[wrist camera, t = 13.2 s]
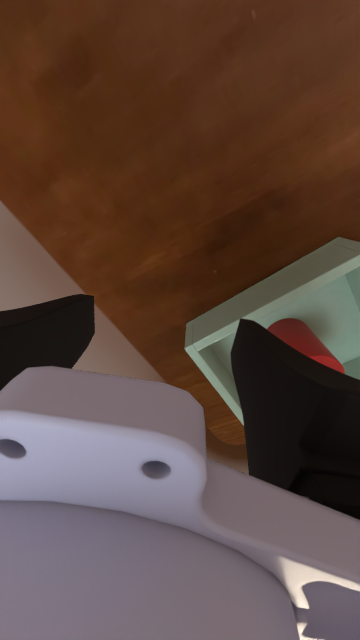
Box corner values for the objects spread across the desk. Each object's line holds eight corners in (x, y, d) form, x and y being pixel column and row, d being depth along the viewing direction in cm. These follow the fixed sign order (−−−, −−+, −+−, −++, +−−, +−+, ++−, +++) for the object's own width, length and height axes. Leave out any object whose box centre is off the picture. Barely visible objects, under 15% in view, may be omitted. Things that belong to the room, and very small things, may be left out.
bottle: (273, 364, 24) (307, 435, 17) (254, 332, 23) (281, 394, 15) (316, 344, 23) (373, 412, 16) (298, 309, 22) (352, 365, 14)
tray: (246, 405, 28) (254, 440, 24) (185, 323, 23) (184, 348, 19) (382, 349, 23) (421, 380, 19) (338, 236, 19) (377, 245, 15)
